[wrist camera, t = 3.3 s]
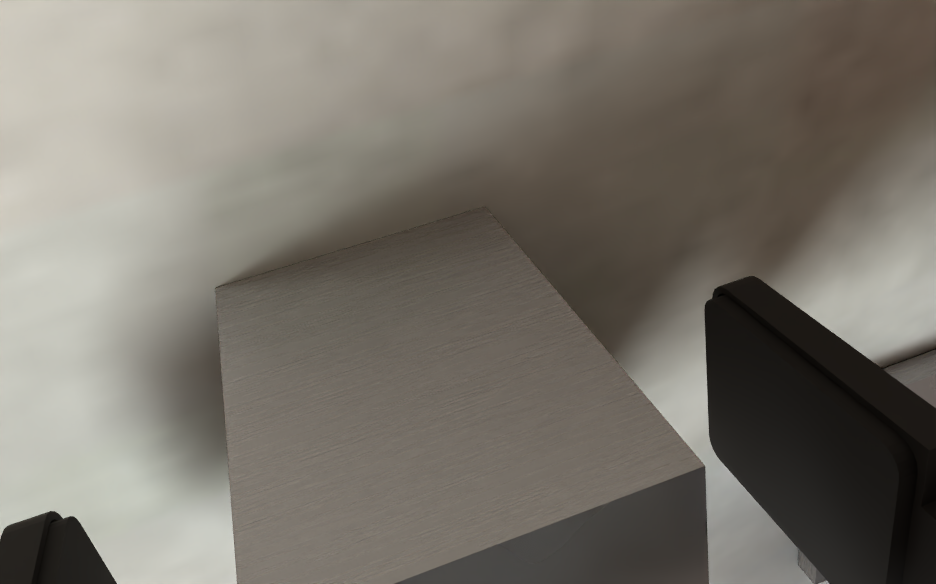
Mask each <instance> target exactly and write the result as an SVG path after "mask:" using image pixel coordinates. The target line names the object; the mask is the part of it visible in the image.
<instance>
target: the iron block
mask: <svg viewBox="0 0 936 584" xmlns="http://www.w3.org/2000/svg"><path fill="white" fill-rule="evenodd" d="M215 293H216V306H217V320H218V333H219V346H220V360H221V373H222V387H223V400H224V413H225V427H226V440H227V454H228V467H229V480H230V494H231V507H232V521H233V534H234V547H235V561H236V574H237V584H709V574H708V543H707V511H706V479H705V465H704V464H703V463H702V462H701V460H700V459H699V458H698V457H697V456H696V455H695V453H694V452H693V451H692V450H691V449H690V447H689V446H688V445H687V444H686V443H685V442H684V440H683V439H682V438H681V437H680V436H679V435H678V433H677V432H676V431H675V430H674V429H673V427H672V426H671V425H670V424H669V423H668V422H667V420H666V419H665V418H664V417H663V416H662V414H661V413H660V412H659V411H658V410H657V409H656V407H655V406H654V405H653V404H652V403H651V401H650V400H649V399H648V398H647V397H646V396H645V394H644V393H643V392H642V391H641V390H640V389H639V387H638V386H637V385H636V384H635V383H634V381H633V380H632V379H631V378H630V377H629V376H628V374H627V373H626V372H625V371H624V370H623V368H622V367H621V366H620V365H619V364H618V363H617V361H616V360H615V359H614V358H613V357H612V356H611V354H610V353H609V352H608V351H607V350H606V348H605V347H604V346H603V345H602V344H601V343H600V341H599V340H598V339H597V338H596V337H595V335H594V334H593V333H592V332H591V331H590V330H589V328H588V327H587V326H586V325H585V324H584V322H583V321H582V320H581V319H580V318H579V317H578V315H577V314H576V313H575V312H574V311H573V310H572V308H571V307H570V306H569V305H568V304H567V302H566V301H565V300H564V299H563V298H562V297H561V295H560V294H559V293H558V292H557V291H556V289H555V288H554V287H553V286H552V285H551V284H550V282H549V281H548V280H547V279H546V278H545V276H544V275H543V274H542V273H541V272H540V271H539V269H538V268H537V267H536V266H535V265H534V264H533V262H532V261H531V260H530V259H529V258H528V256H527V255H526V254H525V253H524V252H523V251H522V249H521V248H520V247H519V246H518V245H517V243H516V242H515V241H514V240H513V239H512V238H511V236H510V235H509V234H508V233H507V232H506V230H505V229H504V228H503V227H502V226H501V225H500V223H499V222H498V221H497V220H496V219H495V218H494V216H493V215H492V214H491V213H490V212H489V210H488V209H487V208H486V207H482V208H478V209H475V210H472V211H468V212H465V213H462V214H458V215H455V216H452V217H448V218H445V219H442V220H438V221H435V222H432V223H429V224H425V225H422V226H419V227H415V228H412V229H409V230H405V231H402V232H399V233H395V234H392V235H389V236H385V237H382V238H379V239H375V240H372V241H369V242H366V243H362V244H359V245H356V246H352V247H349V248H346V249H342V250H339V251H336V252H332V253H329V254H326V255H322V256H319V257H316V258H313V259H309V260H306V261H303V262H299V263H296V264H293V265H289V266H286V267H283V268H279V269H276V270H273V271H269V272H266V273H263V274H260V275H256V276H253V277H250V278H246V279H243V280H240V281H236V282H233V283H230V284H226V285H223V286H220V287H216V288H215Z"/></svg>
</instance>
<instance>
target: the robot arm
mask: <svg viewBox="0 0 936 584" xmlns="http://www.w3.org/2000/svg"><path fill="white" fill-rule="evenodd" d="M705 335H706V362H707V389H708V416H709V437H710V441H711V445H712V447H713V450H714V452H715V453H716V455H717V457H718V458H719V459H720V460H721V462H722V463H723V464H724V465H725V466H726V467H727V468H728V469H729V471H730V472H731V473H732V474H733V475H734V476H735V477H736V478H737V480H738V481H739V482H740V483H741V484H742V485H743V486H744V487H745V489H746V490H747V491H748V492H749V493H750V494H751V495H752V496H753V498H754V499H755V500H756V501H757V502H758V503H759V504H760V506H761V507H762V508H763V509H764V510H765V511H766V512H767V513H768V515H769V516H770V517H771V518H772V519H773V520H774V521H775V522H776V524H777V525H778V526H779V527H780V528H781V529H782V530H783V531H784V533H785V534H786V535H787V536H788V537H789V538H790V539H791V540H792V542H793V543H794V544H795V545H796V546H797V547H798V548H799V549H800V551H801V552H802V553H803V554H804V555H805V556H806V557H807V558H808V560H809V561H810V562H811V563H812V564H813V565H814V566H815V568H816V569H817V570H818V571H819V572H820V573H821V574H822V575H823V577H824V578H825V579H826V580H827V581H828V582H829V583H830V584H936V408H935V407H933V406H932V405H931V404H929V403H928V402H927V401H925V400H924V399H923V398H921V397H920V396H918V395H917V394H916V393H914V392H913V391H912V390H910V389H909V388H908V387H906V386H905V385H903V384H902V383H901V382H899V381H898V380H897V379H895V378H894V377H892V376H891V375H890V374H888V373H887V372H886V371H884V370H883V369H882V368H880V367H879V366H877V365H876V364H875V363H873V362H872V361H871V360H869V359H868V358H867V357H865V356H864V355H862V354H861V353H860V352H858V351H857V350H856V349H854V348H853V347H851V346H850V345H849V344H847V343H846V342H845V341H843V340H842V339H841V338H839V337H838V336H836V335H835V334H834V333H832V332H831V331H830V330H828V329H827V328H826V327H824V326H823V325H821V324H820V323H819V322H817V321H816V320H815V319H813V318H812V317H810V316H809V315H808V314H806V313H805V312H804V311H802V310H801V309H800V308H798V307H797V306H795V305H794V304H793V303H791V302H790V301H789V300H787V299H786V298H785V297H783V296H782V295H780V294H779V293H778V292H776V291H775V290H774V289H772V288H771V287H770V286H768V285H767V284H765V283H764V282H763V281H761V280H760V279H758V278H756V277H754V276H749V277H746V278H743V279H740V280H737V281H734V282H731V283H728V284H725V285H722V286H719V287H717V288H716V289H715V290H714V292H713V297H712V299H711V300H708V301H707V302H706V304H705ZM0 584H117V583H116V581H115V580H114V578H113V577H112V575H111V573H110V572H109V570H108V568H107V567H106V565H105V563H104V562H103V560H102V558H101V557H100V555H99V554H98V552H97V550H96V549H95V547H94V545H93V544H92V542H91V540H90V539H89V537H88V536H87V534H86V532H85V531H84V529H83V527H82V526H81V524H80V523H79V521H78V520H77V519H76V518H75V517H73V516H70V517H67V518H64V519H63V518H62V517H61V516H60V515H59V514H58V513H57V512H55V511H50V512H47V513H44V514H41V515H38V516H35V517H32V518H29V519H26V520H23V521H20V522H17V523H14V524H11V525H9V526H7V527H6V528H5V529H4V531H3V533H2V536H1V539H0Z"/></svg>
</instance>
